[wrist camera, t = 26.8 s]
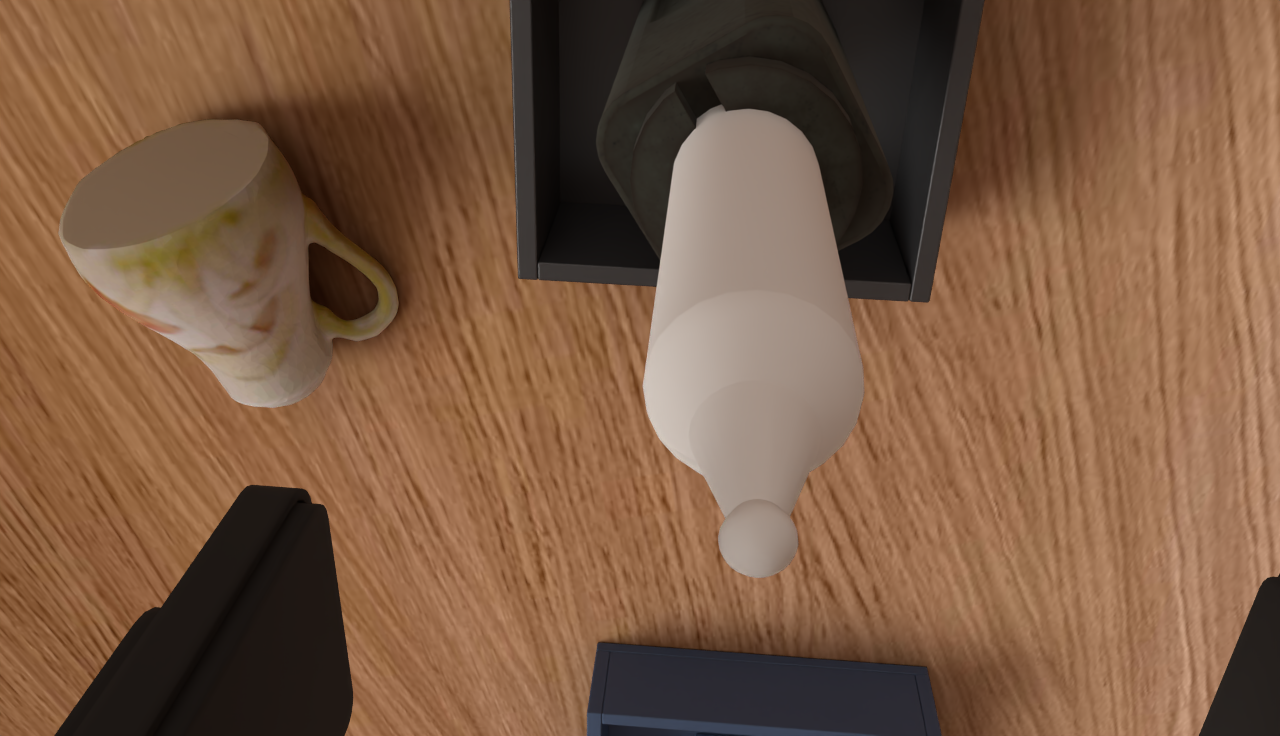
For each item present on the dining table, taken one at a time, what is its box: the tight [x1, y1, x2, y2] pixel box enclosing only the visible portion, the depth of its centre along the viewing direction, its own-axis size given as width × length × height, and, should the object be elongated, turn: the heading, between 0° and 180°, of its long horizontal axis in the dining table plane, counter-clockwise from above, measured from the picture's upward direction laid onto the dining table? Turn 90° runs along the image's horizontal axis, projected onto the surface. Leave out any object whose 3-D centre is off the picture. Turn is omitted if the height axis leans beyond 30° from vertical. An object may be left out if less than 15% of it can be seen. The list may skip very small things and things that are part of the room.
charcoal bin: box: [510, 0, 985, 302], centre depth 31 cm, size 12×12×6 cm
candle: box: [596, 0, 893, 578], centre depth 22 cm, size 5×5×25 cm
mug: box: [59, 119, 399, 408], centre depth 35 cm, size 8×10×10 cm
